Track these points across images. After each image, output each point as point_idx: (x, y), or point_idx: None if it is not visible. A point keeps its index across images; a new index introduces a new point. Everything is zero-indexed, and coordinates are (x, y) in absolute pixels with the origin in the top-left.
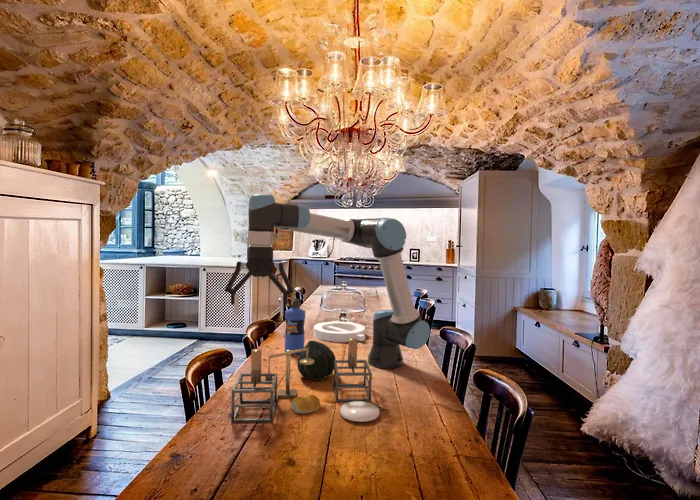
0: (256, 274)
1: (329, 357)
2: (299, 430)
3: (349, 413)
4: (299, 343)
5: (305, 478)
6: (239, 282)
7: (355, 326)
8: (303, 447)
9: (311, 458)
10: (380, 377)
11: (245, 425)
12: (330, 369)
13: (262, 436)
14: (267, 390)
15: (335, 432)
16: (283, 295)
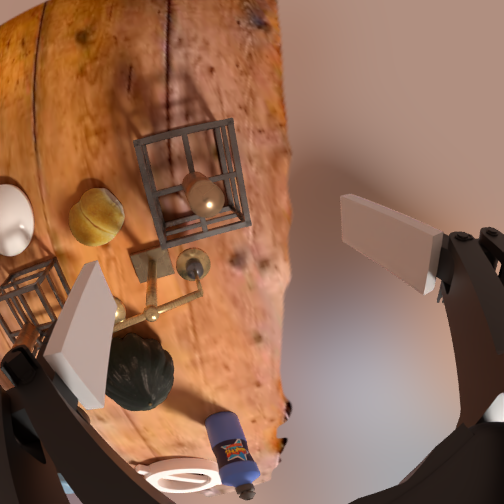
0: (463, 465)
1: None
2: (83, 125)
3: (14, 200)
4: (213, 431)
5: (61, 16)
6: (502, 289)
7: (164, 487)
8: (68, 77)
9: (54, 55)
10: None
11: (186, 117)
12: None
13: (142, 87)
14: (146, 137)
15: (28, 140)
16: (54, 370)
